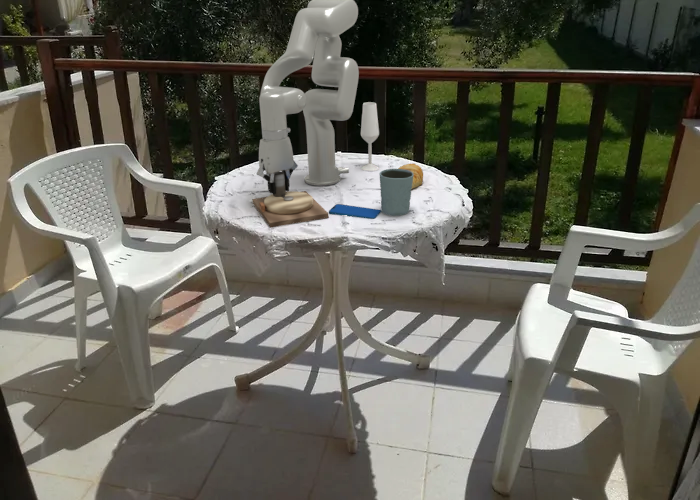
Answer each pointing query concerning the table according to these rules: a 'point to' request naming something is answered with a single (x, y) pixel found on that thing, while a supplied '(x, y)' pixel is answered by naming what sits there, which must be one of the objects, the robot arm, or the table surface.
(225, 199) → the table surface
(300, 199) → the dial
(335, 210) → the smartphone
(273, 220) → the board
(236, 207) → the table surface
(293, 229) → the table surface
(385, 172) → the grey-green cup
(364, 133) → the champagne flute
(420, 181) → the croissant
